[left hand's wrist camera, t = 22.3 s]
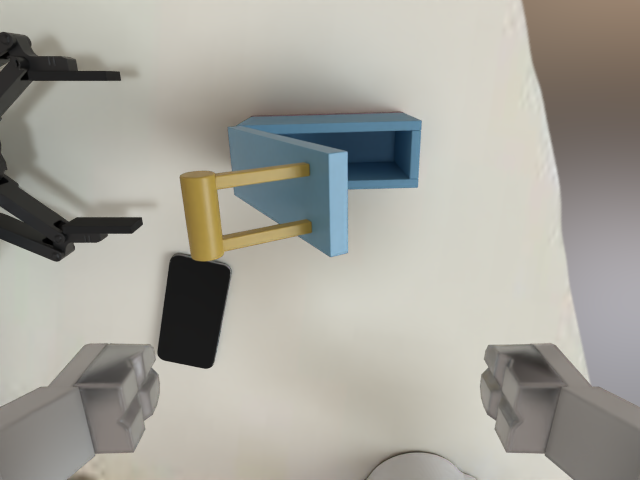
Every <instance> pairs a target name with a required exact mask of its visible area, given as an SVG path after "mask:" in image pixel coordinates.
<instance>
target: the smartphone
mask: <svg viewBox="0 0 640 480" xmlns="http://www.w3.org/2000/svg"><path fill="white" fill-rule="evenodd" d="M231 273H232V272H231V268H230V267H229V266H228V265H227V264H224V263H220V262H215V261H196V260H194V259H192V257H191V256H188V255H184V254H176V255H174V256H173V257H172V258H171V260H170V264H169V271H168V278H167V286H166V293H165V300H164V308H163V315H162V322H161V330H160V337H159V344H158V352H157V353H158V356H159V357H160V358H161V359H162V360H165V361H170V362H175V363H179V364H184V365H189V366H194V367H199V368H205V369H207V368H210V367H212V366H213V364H214V361H215V356H216V352H217V346H218V342H219V336H220V331H221V325H222V320H223V315H224V309H225V304H226V299H227V294H228V289H229V284H230V278H231Z"/></svg>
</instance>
